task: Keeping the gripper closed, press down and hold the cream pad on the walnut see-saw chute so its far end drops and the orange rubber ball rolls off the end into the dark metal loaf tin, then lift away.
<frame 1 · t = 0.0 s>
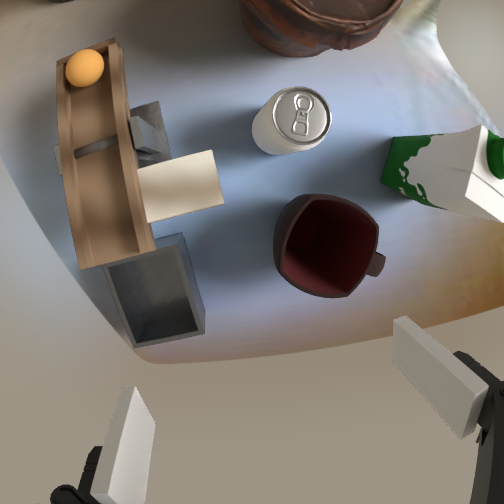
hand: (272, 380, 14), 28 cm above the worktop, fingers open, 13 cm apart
milk carton: (404, 168, 42), on the worktop
lever: (130, 133, 26), point 11 cm above the worktop, hinge at -12.0°, touching ball
case: (291, 18, 35), on the worktop
tin: (160, 281, 41), on the worktop
stand: (125, 151, 37), on the worktop
ball: (91, 76, 26), point 9 cm above the worktop, tilted 13°, touching lever
can: (276, 130, 39), on the worktop
cup: (311, 232, 42), on the worktop
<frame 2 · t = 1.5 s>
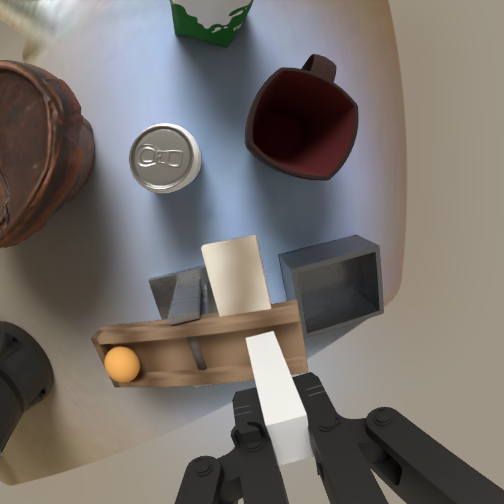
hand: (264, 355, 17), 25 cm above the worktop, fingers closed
milk carton: (211, 20, 33), on the worktop
lever: (184, 322, 30), point 11 cm above the worktop, hinge at -12.0°, touching ball
case: (52, 153, 34), on the worktop
tin: (323, 276, 43), on the worktop
stand: (197, 308, 42), on the worktop
ball: (129, 354, 33), point 9 cm above the worktop, tilted 13°, touching lever
can: (175, 161, 37), on the worktop
cup: (283, 122, 38), on the worktop
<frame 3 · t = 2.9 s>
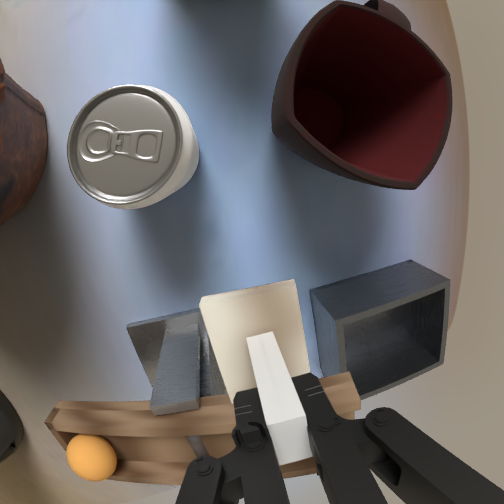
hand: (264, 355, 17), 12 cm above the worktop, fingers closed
lever: (176, 411, 18), point 11 cm above the worktop, hinge at -8.3°, touching ball, gripper
tin: (367, 315, 31), on the worktop
stand: (196, 362, 29), on the worktop
ball: (99, 439, 20), point 9 cm above the worktop, tilted 9°, touching lever
can: (160, 155, 25), on the worktop
cup: (318, 100, 25), on the worktop
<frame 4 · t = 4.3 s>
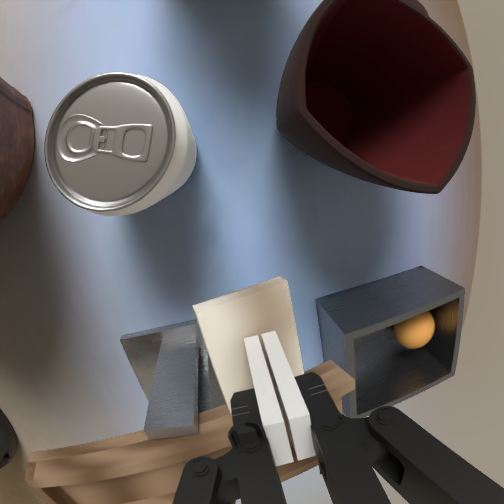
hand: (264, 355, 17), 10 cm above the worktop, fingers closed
lever: (176, 435, 16), point 11 cm above the worktop, hinge at 12.5°, touching gripper
tin: (375, 325, 29), on the worktop
stand: (194, 375, 27), on the worktop
ball: (410, 339, 25), point 4 cm above the worktop, tilted 137°, touching tin
can: (154, 154, 22), on the worktop
cup: (325, 95, 23), on the worktop
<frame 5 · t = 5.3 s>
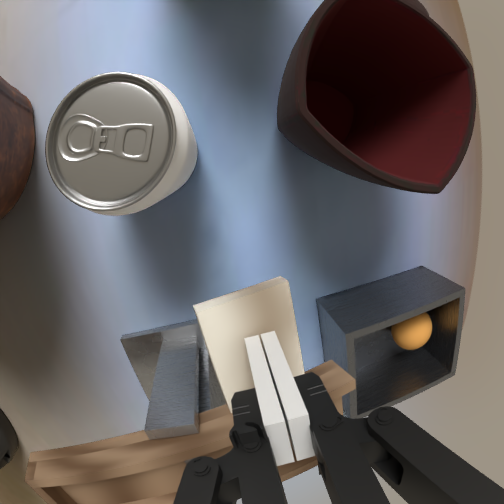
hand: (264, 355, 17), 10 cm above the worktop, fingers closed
lever: (176, 435, 16), point 11 cm above the worktop, hinge at 12.5°, touching gripper
tin: (376, 325, 29), on the worktop
stand: (195, 375, 27), on the worktop
ball: (404, 340, 25), point 4 cm above the worktop, tilted 127°, touching tin
can: (155, 154, 22), on the worktop
cup: (326, 95, 23), on the worktop
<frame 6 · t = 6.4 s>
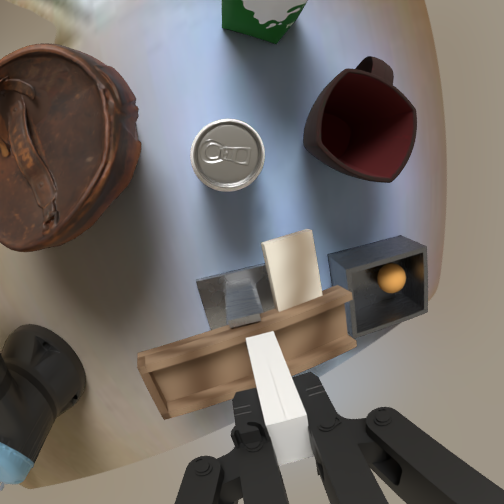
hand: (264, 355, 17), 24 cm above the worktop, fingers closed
milk carton: (258, 16, 32), on the worktop
lever: (246, 324, 30), point 11 cm above the worktop, hinge at 12.5°
case: (90, 148, 35), on the worktop
tin: (369, 276, 42), on the worktop
stand: (245, 309, 42), on the worktop
ball: (383, 284, 39), point 3 cm above the worktop, tilted 116°, touching tin
can: (225, 158, 37), on the worktop
cup: (333, 122, 37), on the worktop
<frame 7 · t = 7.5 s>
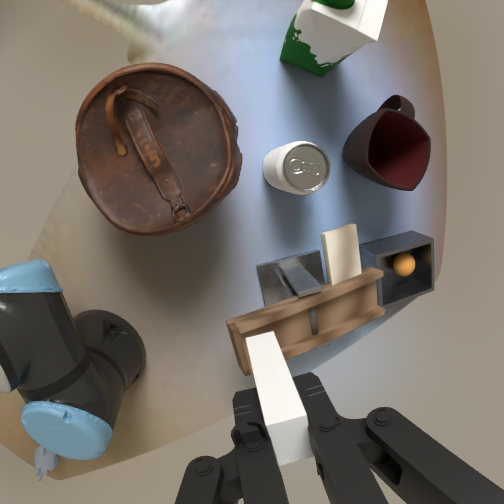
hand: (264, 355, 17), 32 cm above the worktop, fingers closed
milk carton: (307, 51, 42), on the worktop
lever: (310, 294, 40), point 11 cm above the worktop, hinge at 12.5°
case: (167, 152, 44), on the worktop
tin: (388, 262, 52), on the worktop
stand: (293, 289, 51), on the worktop
ball: (396, 268, 49), point 3 cm above the worktop, tilted 105°, touching tin
can: (283, 168, 46), on the worktop
cup: (363, 141, 47), on the worktop
toy figure: (52, 443, 55), on the worktop
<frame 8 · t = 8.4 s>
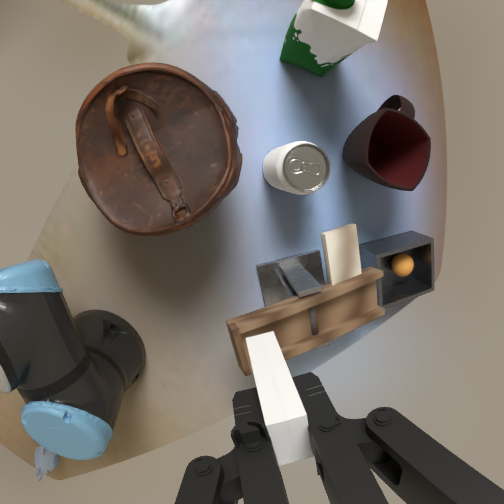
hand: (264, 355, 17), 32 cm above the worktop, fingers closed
milk carton: (307, 51, 42), on the worktop
lever: (310, 294, 40), point 11 cm above the worktop, hinge at 12.5°
case: (167, 153, 44), on the worktop
tin: (388, 262, 52), on the worktop
stand: (293, 289, 51), on the worktop
ball: (393, 268, 50), point 3 cm above the worktop, tilted 96°, touching tin
can: (283, 168, 46), on the worktop
cup: (363, 141, 47), on the worktop
toy figure: (52, 443, 55), on the worktop
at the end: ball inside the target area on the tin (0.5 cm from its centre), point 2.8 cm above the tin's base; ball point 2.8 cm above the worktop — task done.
